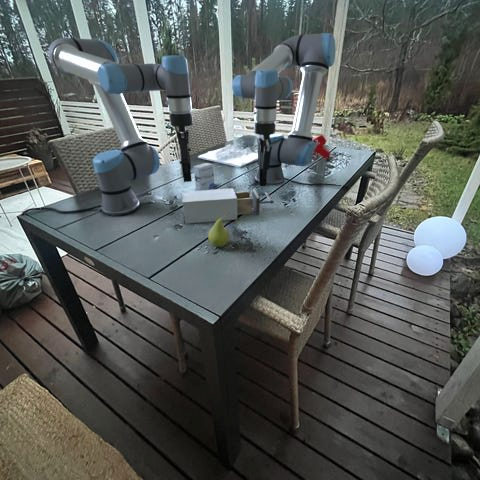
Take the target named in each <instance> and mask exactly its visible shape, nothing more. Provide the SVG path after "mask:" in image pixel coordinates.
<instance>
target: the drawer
mask: <svg viewBox="0 0 480 480" xmlns="http://www.w3.org/2000/svg"><path fill="white" fill-rule="evenodd" d="M234 192H235V194H236V197H237V216H238V215H250V214H253V213H254V212H255V215H257V216H258V215H260V212H261V211H260V209H261V205H262V204H271V205H272V204H274V200H273V198H272V196H271V195H270V193H269V192H267V191H266V192H264V193H258V192H257V190H256V189H252V190H251V191H249V190H248V191H246V190H245V191H234ZM250 194H251V195H250ZM250 196H251V197H250ZM260 196H265V197H266V198H267V200H265V201H261V198H260ZM253 211H254V212H253Z"/></svg>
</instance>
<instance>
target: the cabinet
mask: <svg viewBox="0 0 480 480" xmlns="http://www.w3.org/2000/svg"><path fill="white" fill-rule="evenodd" d="M235 192H236V191H235V189H234V187H233V188H232V187H231V188H219V189H218V188H217V189H208V190H201V191H199V190H189V191H188V190H186V191H182V208H183V216H184V223H185V224H186V225H188V224H200V223H211V222H217V220H219V219H220V218H222V217H224V216H225V215H226V214H227V213H228V212H229V214H228V215H227V216H225V217H224V218H223V221H233V220H234V221H235V220H238V215H237V197H236V194H235ZM223 221H222V222H223Z"/></svg>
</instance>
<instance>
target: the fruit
mask: <svg viewBox="0 0 480 480" xmlns="http://www.w3.org/2000/svg"><path fill="white" fill-rule="evenodd" d="M228 214H229V212H228V213H227V214H226V215H225V216H227V215H228ZM225 216H224V217H225ZM224 217H222V218H220V219H219V220H217V221H215V223H214V224H213V226H212V227H211V229H209V231H208V234H207V238H208V241H209V243H210V244H211V245H212V246H213V247H215V248H222V247H225V245H227V243H228V241H229V239H230V233H229V231H228V230H227V229H226V228H225V227H224V224H223V223H224V222H223V218H224Z"/></svg>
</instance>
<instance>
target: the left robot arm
mask: <svg viewBox="0 0 480 480" xmlns="http://www.w3.org/2000/svg"><path fill="white" fill-rule="evenodd" d="M48 58H49V61H50V63H51V64H52V66H53V68H55V70H57V71H58V72H60V73H61V74H63V75H66V76H69V77H76V76H77V77H80V78H82V79H84V80H87V81H88V83H89V84H90V85H93V86H94V87H95V89H96V91H97V94H98V96H99V98H100V100H101V102H102V105H103V107H104V109H105V111H106V114H107V115H108V118H109V120H110V123H111V125H112V126H113V129H114V131H115V133H116V135H117V138H118V140H119V142H120V144H121V146H120V147H119V149H111V150H105V151H103V152H100V153H98V154H96V155H95V156H94V157H93V159H92V165H93V172H94V173H95V176H96V179H97V183H98V185H99V189H100V192H101V201H100V202H101V204H98V205H94V206H90V207H86V208H81V209H75V210H59V209H56V208H54V207H50V206H49V207H47V206H46V207H31V208H27V209H25V210H24V211H23V212H21V214H20V216H24V215H26V214H27V213H28V212H33V211H45V210H49V211H54V212H56V213H59V214H76V213H81V212H87V211H92V210H94V209H98V208H100V209H101V211H102V213H103V215H106V216H108V217H109V216H110V217H119V216H120V217H121V216H125V215H128V214H131V213H134V212H136V211H138V209H139V208H140V207H141V205H140V200H139V199H138V197H137V196H136V194H135V192H134V190H133V189H132V185H131V182H133V181H135V180H138V179H142V178H145V177H149V176H151V175H153V174H156V173H158V171H159V169H160V165H161V160H160V155H159V153H158V151H157V149H156V148H155V147H154V146H152V145H149V144H148V141H147V140H146V139H143V138H142V136H141V134H140V131H139V129H138V128H137V125H136V123H135V120H134V118H133V116H132V114H131V111H130V108H129V106H128V104H127V102H126V100H125V97H124V95H123V94H131V93H144V92H145V93H146V92H156V91H157V92H161V91H162V92H165V93H166V94H165V95H166V101H165V105H167V108H168V112H170V113H169V114H168V116H169V117H168V118H169V124H170V126H171V127H178V129H177V130H176V137H177V141H178V143H177V144H178V145H179V153H180V160H179V161H178V162H179V165H181V170H182V177H183V178H182V179H183V183H187V182H189V183H190V182H192V172H191V171H192V166H191V165H192V164H191V156H190V155H191V154H190V152H192V151H191V150H192V149H191V148H190V146H189V145H190V140H189V139H190V133H189V131H190V130H189V129H187V127H190V126H192V125H193V124H194V117H193V113H192V111H193V107H192V97H191V85H190V71H189V65H188V60H187V58H186V57H185V56H184V55H162V57H161V63H119V59H118V56H117V53H116V52H115V50H114V48H113V47H112V45H111V44H109V42H107V41H105V40H102V39H98V38H79V37H60V38H57V39H55V40H53V41H52V42H51V43H50V44H49V48H48ZM40 208H41V209H40Z"/></svg>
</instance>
